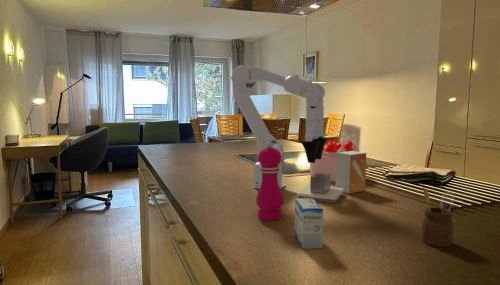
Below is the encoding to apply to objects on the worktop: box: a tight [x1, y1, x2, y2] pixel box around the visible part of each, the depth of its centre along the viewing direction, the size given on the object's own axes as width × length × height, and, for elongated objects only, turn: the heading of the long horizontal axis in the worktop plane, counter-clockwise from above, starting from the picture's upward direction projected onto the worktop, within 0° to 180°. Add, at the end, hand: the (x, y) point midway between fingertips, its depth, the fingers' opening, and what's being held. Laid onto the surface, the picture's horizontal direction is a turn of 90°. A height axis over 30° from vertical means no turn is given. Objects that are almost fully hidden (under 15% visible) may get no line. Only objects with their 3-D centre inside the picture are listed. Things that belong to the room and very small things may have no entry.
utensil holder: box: [421, 186, 455, 248], centre depth 76 cm, size 6×6×12 cm
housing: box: [309, 173, 331, 194], centre depth 113 cm, size 4×7×6 cm, turn 154°
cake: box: [309, 139, 360, 183], centre depth 143 cm, size 20×20×14 cm
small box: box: [335, 151, 367, 195], centre depth 121 cm, size 8×6×13 cm
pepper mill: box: [255, 142, 285, 222], centre depth 94 cm, size 7×7×20 cm
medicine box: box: [293, 198, 324, 250], centre depth 77 cm, size 8×4×9 cm, turn 5°
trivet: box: [296, 184, 344, 204], centre depth 114 cm, size 12×12×2 cm
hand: (314, 160), depth 120 cm, fingers open, 7 cm apart
